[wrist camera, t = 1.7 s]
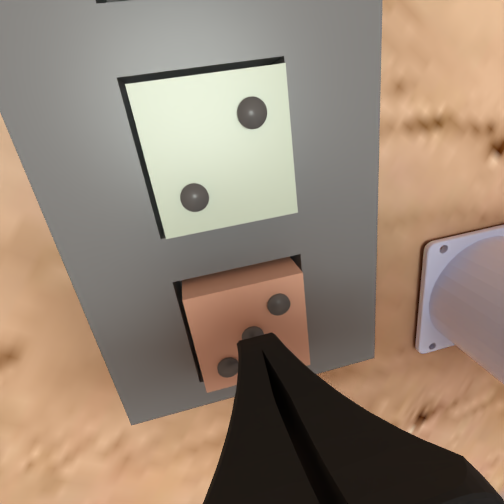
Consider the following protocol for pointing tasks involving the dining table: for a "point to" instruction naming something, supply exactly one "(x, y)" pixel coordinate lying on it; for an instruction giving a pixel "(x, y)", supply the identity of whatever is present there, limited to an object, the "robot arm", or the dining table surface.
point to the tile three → (244, 315)
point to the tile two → (217, 147)
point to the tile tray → (139, 184)
